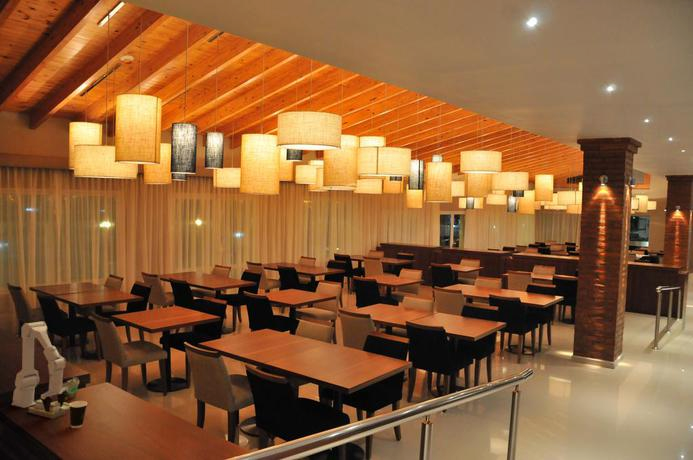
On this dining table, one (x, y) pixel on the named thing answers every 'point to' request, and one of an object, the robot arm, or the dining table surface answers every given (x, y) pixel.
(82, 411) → the dixie cup
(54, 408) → the plug
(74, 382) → the food container
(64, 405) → the tray
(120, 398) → the dining table surface
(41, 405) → the beige block
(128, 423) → the dining table surface
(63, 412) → the grey cubby shelf
